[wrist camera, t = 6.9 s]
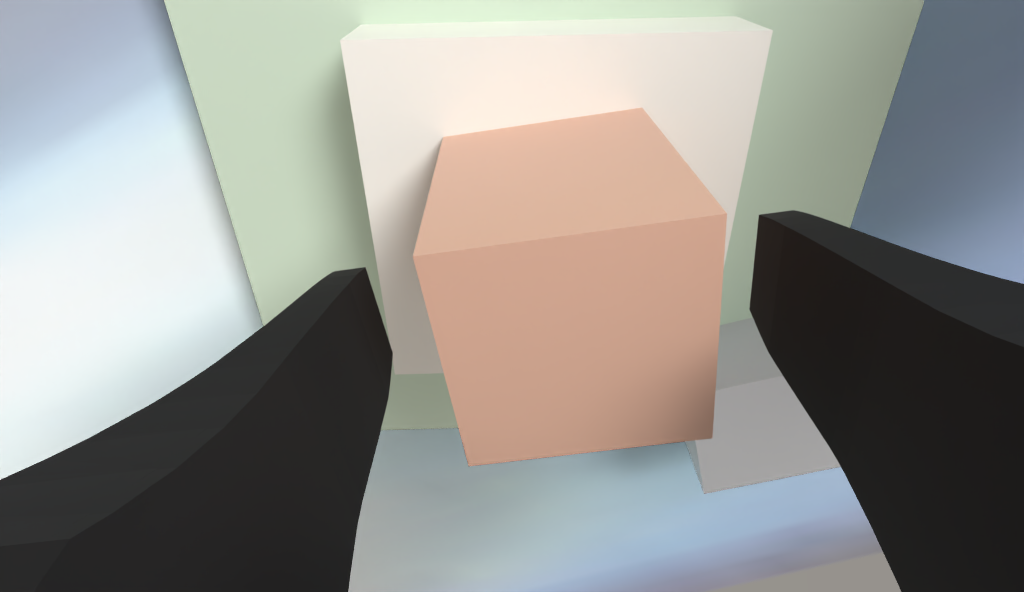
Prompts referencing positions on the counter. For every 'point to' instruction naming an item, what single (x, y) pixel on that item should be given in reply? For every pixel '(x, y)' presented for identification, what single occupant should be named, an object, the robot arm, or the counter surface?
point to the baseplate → (349, 3)
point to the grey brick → (755, 420)
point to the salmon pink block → (572, 287)
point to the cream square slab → (534, 114)
